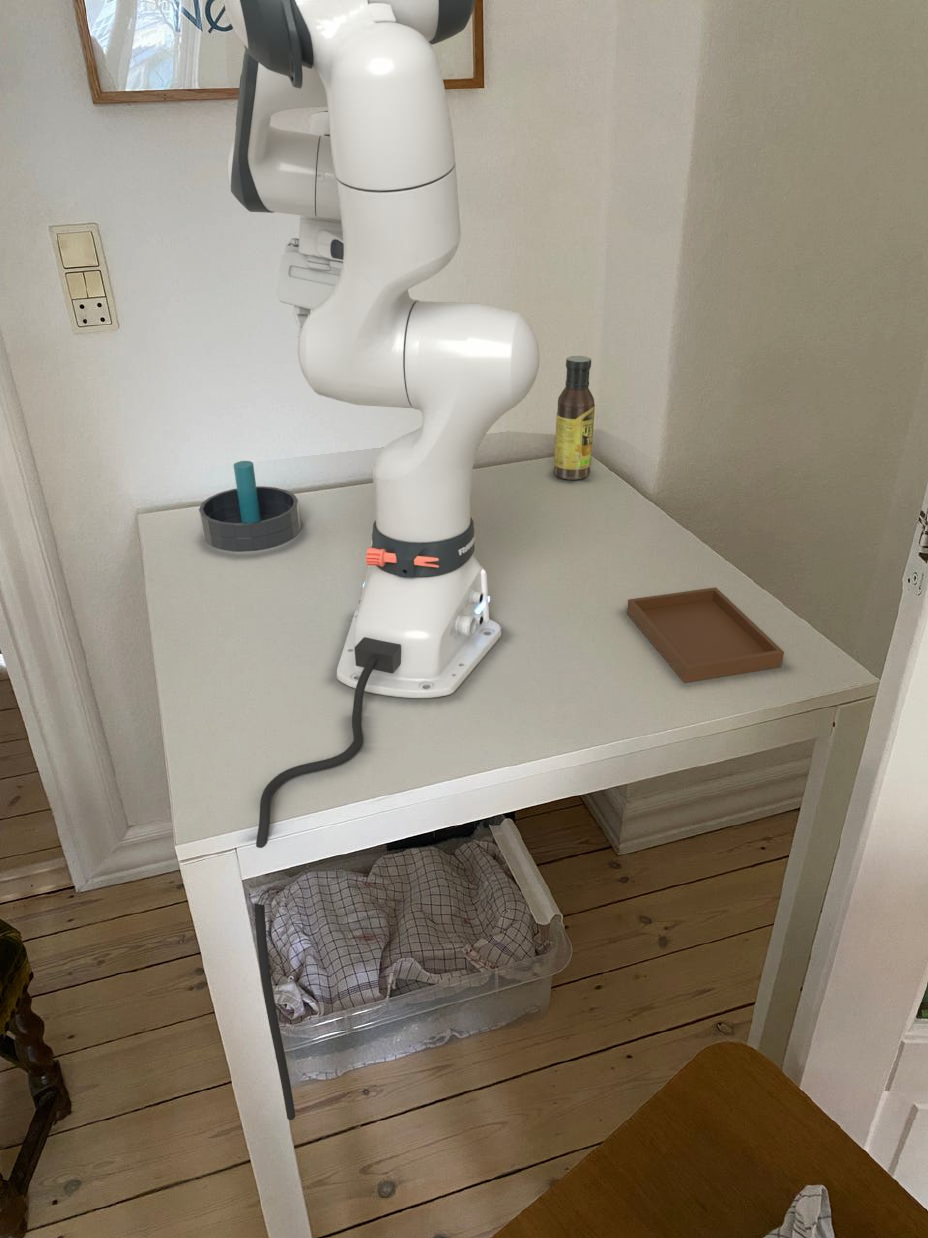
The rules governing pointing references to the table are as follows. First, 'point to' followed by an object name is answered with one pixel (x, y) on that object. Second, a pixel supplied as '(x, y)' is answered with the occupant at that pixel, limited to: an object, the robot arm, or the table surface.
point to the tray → (703, 634)
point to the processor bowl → (234, 535)
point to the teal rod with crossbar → (247, 491)
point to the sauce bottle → (575, 422)
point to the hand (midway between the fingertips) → (324, 344)
